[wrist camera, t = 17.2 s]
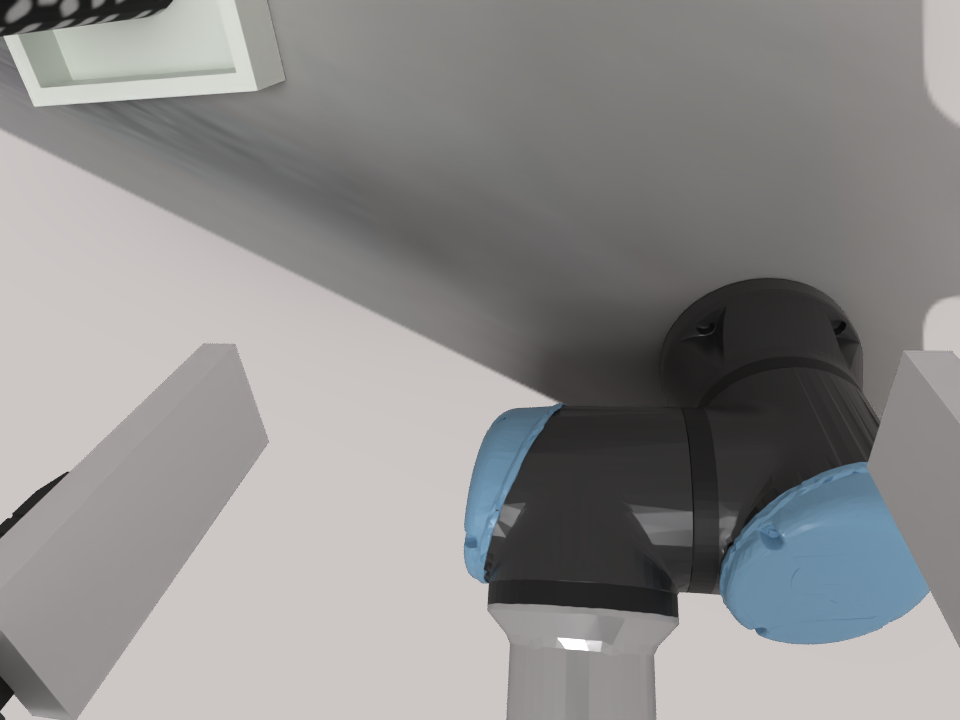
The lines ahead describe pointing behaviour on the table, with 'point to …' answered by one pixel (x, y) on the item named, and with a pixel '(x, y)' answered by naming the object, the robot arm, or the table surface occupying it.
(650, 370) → the table surface
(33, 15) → the spotted tube
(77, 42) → the tray
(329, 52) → the table surface
